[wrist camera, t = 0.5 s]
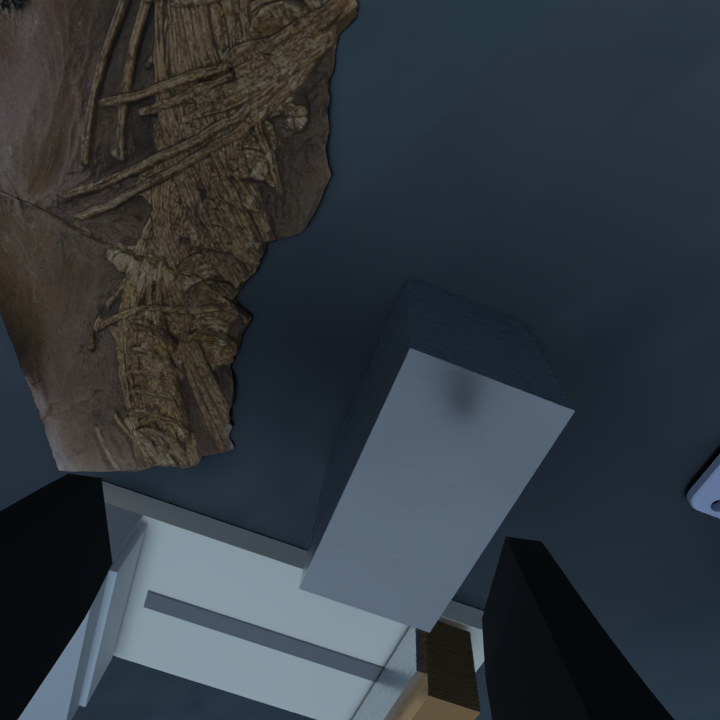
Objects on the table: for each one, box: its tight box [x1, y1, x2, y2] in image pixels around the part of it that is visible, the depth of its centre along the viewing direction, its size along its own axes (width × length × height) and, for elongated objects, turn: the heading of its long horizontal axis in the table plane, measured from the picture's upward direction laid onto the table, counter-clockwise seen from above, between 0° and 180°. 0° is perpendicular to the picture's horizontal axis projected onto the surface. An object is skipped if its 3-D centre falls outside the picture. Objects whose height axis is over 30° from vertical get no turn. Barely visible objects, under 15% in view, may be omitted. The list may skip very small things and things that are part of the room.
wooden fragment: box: [0, 0, 358, 472], centre depth 16 cm, size 26×11×1 cm, turn 158°
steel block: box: [299, 275, 575, 633], centre depth 16 cm, size 4×8×6 cm, turn 159°
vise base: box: [18, 481, 484, 720], centre depth 22 cm, size 18×9×4 cm, turn 69°
